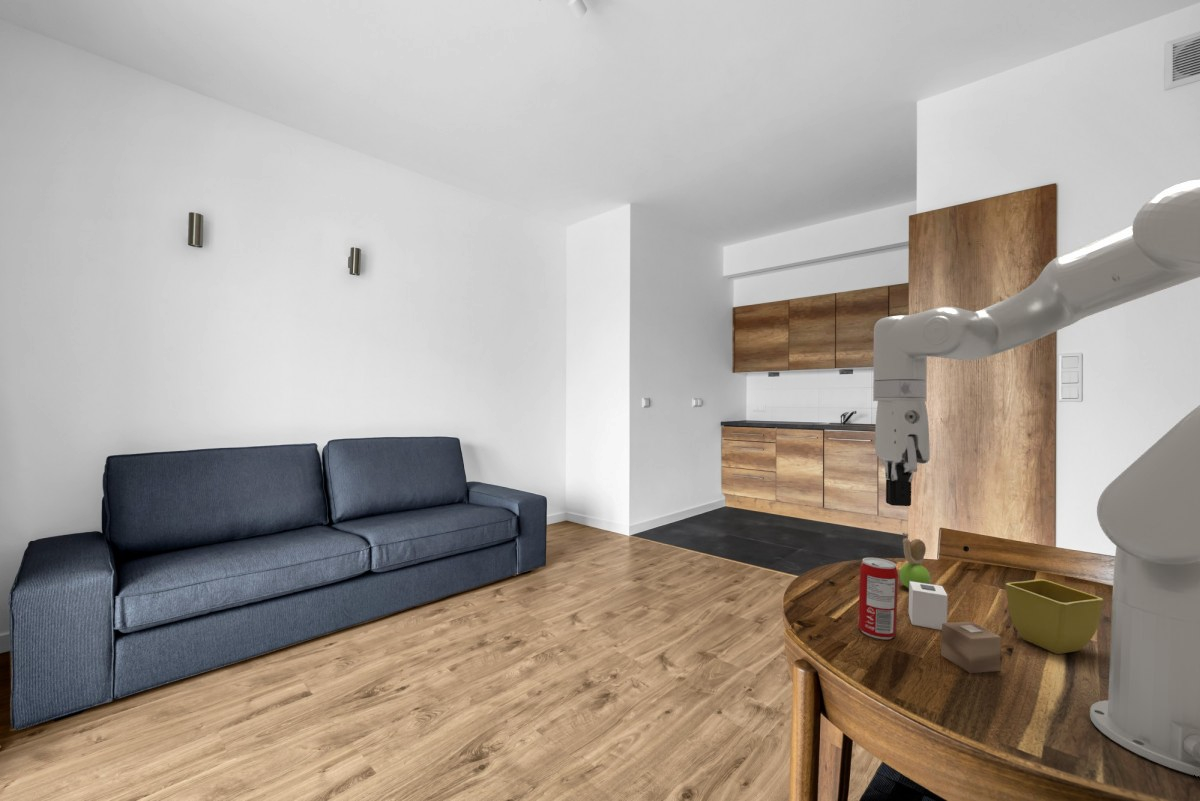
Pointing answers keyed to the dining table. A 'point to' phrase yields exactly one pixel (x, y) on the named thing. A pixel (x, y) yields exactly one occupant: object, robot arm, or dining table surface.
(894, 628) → the soda can
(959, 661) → the walnut block
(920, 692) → the dining table surface
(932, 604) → the white block
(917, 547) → the snail figurine
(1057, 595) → the flower pot
